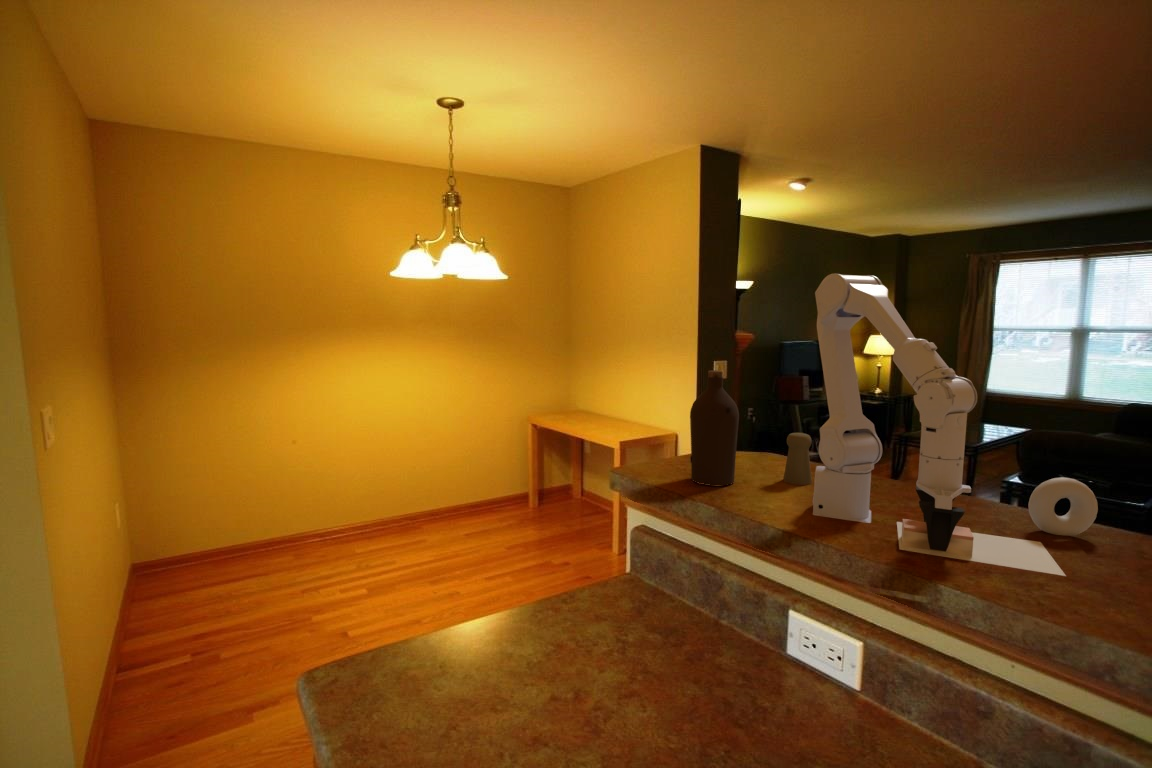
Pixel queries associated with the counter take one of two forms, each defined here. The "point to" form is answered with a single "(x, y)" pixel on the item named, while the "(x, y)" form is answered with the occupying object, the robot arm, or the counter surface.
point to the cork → (798, 459)
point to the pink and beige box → (917, 538)
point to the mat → (1001, 553)
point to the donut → (1078, 514)
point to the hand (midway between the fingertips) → (935, 541)
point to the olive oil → (714, 434)
